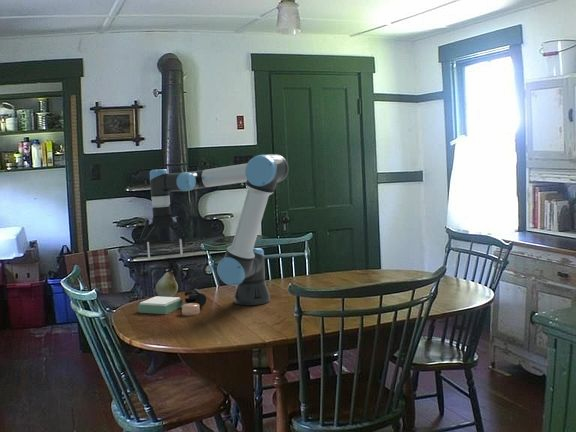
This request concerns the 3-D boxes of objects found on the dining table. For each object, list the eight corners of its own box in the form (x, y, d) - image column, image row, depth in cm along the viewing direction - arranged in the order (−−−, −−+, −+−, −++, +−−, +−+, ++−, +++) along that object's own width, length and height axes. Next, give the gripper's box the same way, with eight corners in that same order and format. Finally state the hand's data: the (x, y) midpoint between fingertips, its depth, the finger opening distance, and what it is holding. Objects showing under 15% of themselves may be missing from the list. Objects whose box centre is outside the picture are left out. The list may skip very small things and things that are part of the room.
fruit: (182, 296, 310) (181, 270, 308) (165, 300, 303) (163, 273, 302) (169, 294, 317) (167, 268, 316) (151, 298, 310) (150, 271, 309)
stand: (182, 306, 290) (182, 297, 290) (165, 314, 278) (165, 304, 278) (156, 305, 295) (155, 295, 295) (138, 312, 283) (137, 302, 283)
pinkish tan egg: (202, 312, 280) (202, 303, 280) (194, 316, 273) (193, 307, 273) (187, 311, 283) (187, 302, 282) (178, 315, 276) (178, 306, 276)
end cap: (207, 308, 286) (206, 292, 285) (190, 310, 284) (189, 294, 283) (201, 303, 295) (200, 287, 295) (185, 305, 293) (184, 289, 292)
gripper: (190, 203, 297) (194, 252, 299) (130, 208, 291) (135, 258, 293) (192, 204, 290) (196, 254, 292) (131, 209, 284) (135, 260, 286)
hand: (165, 256), depth 292 cm, fingers open, 13 cm apart
